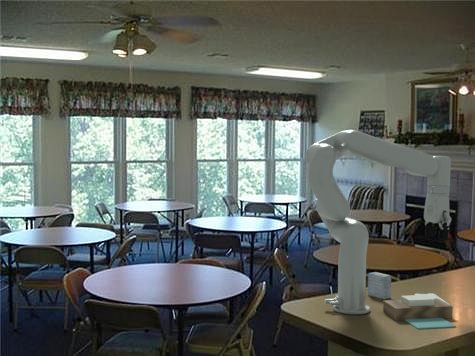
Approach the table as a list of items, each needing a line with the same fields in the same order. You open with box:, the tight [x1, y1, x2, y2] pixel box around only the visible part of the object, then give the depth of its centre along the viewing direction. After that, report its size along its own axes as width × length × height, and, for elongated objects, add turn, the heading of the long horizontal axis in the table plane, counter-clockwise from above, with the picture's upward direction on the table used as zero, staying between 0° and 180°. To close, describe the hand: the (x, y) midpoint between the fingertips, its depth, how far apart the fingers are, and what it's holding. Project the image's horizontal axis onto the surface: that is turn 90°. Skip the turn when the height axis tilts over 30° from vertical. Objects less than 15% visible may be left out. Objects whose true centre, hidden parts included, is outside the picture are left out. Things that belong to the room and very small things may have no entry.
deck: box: [382, 298, 454, 321], centre depth 192 cm, size 20×10×4 cm, turn 99°
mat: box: [404, 318, 457, 330], centre depth 182 cm, size 13×9×1 cm
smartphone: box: [413, 292, 451, 305], centre depth 209 cm, size 9×2×16 cm
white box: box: [400, 294, 434, 306], centre depth 192 cm, size 9×6×2 cm, turn 99°
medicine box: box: [367, 271, 392, 300], centre depth 216 cm, size 8×4×9 cm, turn 34°
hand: (436, 238), depth 202 cm, fingers open, 9 cm apart
